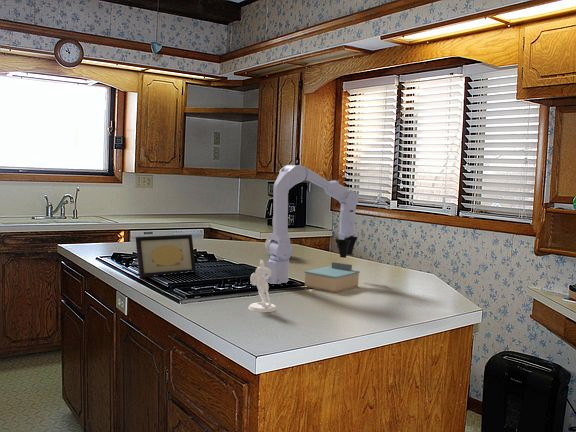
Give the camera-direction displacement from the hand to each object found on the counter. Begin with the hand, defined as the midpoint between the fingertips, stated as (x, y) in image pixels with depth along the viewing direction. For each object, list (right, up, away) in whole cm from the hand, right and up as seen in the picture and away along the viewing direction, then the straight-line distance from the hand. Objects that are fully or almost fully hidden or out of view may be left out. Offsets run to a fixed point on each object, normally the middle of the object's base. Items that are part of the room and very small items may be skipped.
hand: (346, 256), depth 226 cm
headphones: (-29, -4, +53) cm, 60 cm away
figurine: (-30, -13, -50) cm, 60 cm away
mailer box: (-7, -10, -13) cm, 18 cm away
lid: (-6, -5, -13) cm, 16 cm away
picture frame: (-70, -7, -3) cm, 71 cm away
